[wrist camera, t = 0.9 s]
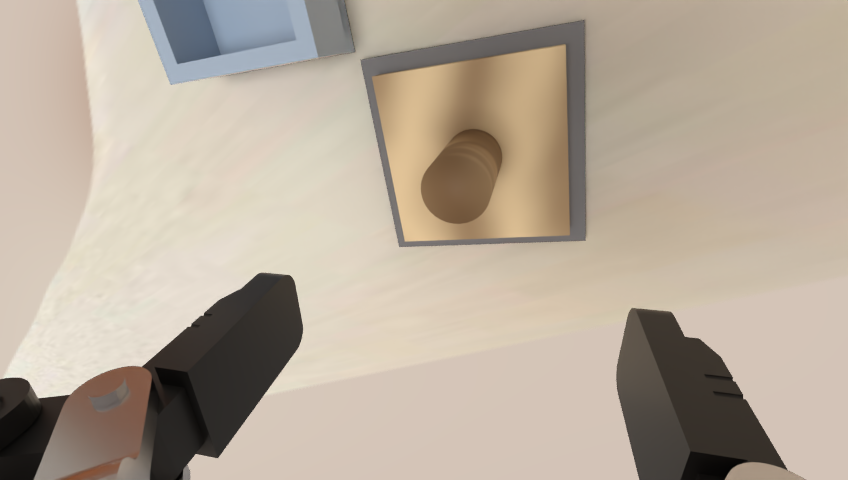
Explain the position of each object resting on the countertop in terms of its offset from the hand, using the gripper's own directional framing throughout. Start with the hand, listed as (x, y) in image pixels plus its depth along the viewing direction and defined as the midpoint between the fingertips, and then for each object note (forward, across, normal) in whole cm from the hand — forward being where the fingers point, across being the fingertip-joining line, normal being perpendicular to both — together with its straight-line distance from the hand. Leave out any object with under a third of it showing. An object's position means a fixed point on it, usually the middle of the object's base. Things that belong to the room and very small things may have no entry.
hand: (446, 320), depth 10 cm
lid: (+19, +1, +1) cm, 19 cm away
